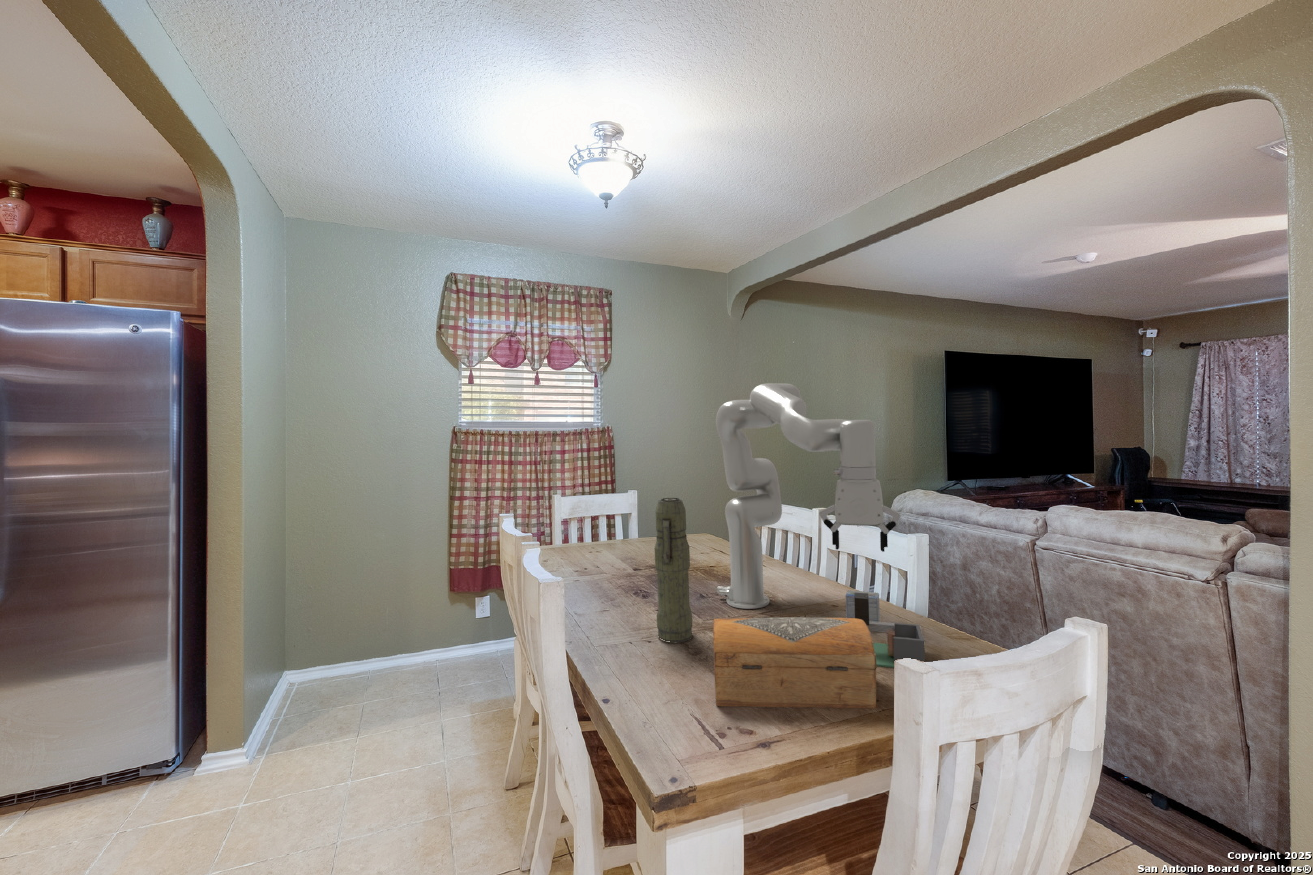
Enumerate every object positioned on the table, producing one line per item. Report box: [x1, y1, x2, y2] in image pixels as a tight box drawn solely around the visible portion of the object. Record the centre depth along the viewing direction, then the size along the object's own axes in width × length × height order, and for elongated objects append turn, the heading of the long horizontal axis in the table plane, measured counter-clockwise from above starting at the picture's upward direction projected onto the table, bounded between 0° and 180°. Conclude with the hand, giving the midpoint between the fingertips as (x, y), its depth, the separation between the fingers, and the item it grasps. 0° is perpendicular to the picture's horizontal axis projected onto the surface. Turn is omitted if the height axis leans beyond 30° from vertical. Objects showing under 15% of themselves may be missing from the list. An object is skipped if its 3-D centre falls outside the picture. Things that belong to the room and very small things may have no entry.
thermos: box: [654, 497, 693, 643], centre depth 140 cm, size 9×12×35 cm
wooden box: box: [712, 616, 878, 709], centre depth 111 cm, size 30×16×14 cm, turn 83°
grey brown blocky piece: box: [854, 593, 895, 657], centre depth 126 cm, size 15×4×12 cm, turn 70°
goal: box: [890, 621, 926, 663], centre depth 123 cm, size 6×10×6 cm, turn 160°
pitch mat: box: [873, 642, 895, 669], centre depth 125 cm, size 14×12×1 cm
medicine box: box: [845, 589, 881, 622], centre depth 142 cm, size 8×4×9 cm, turn 65°
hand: (859, 549), depth 126 cm, fingers open, 9 cm apart
